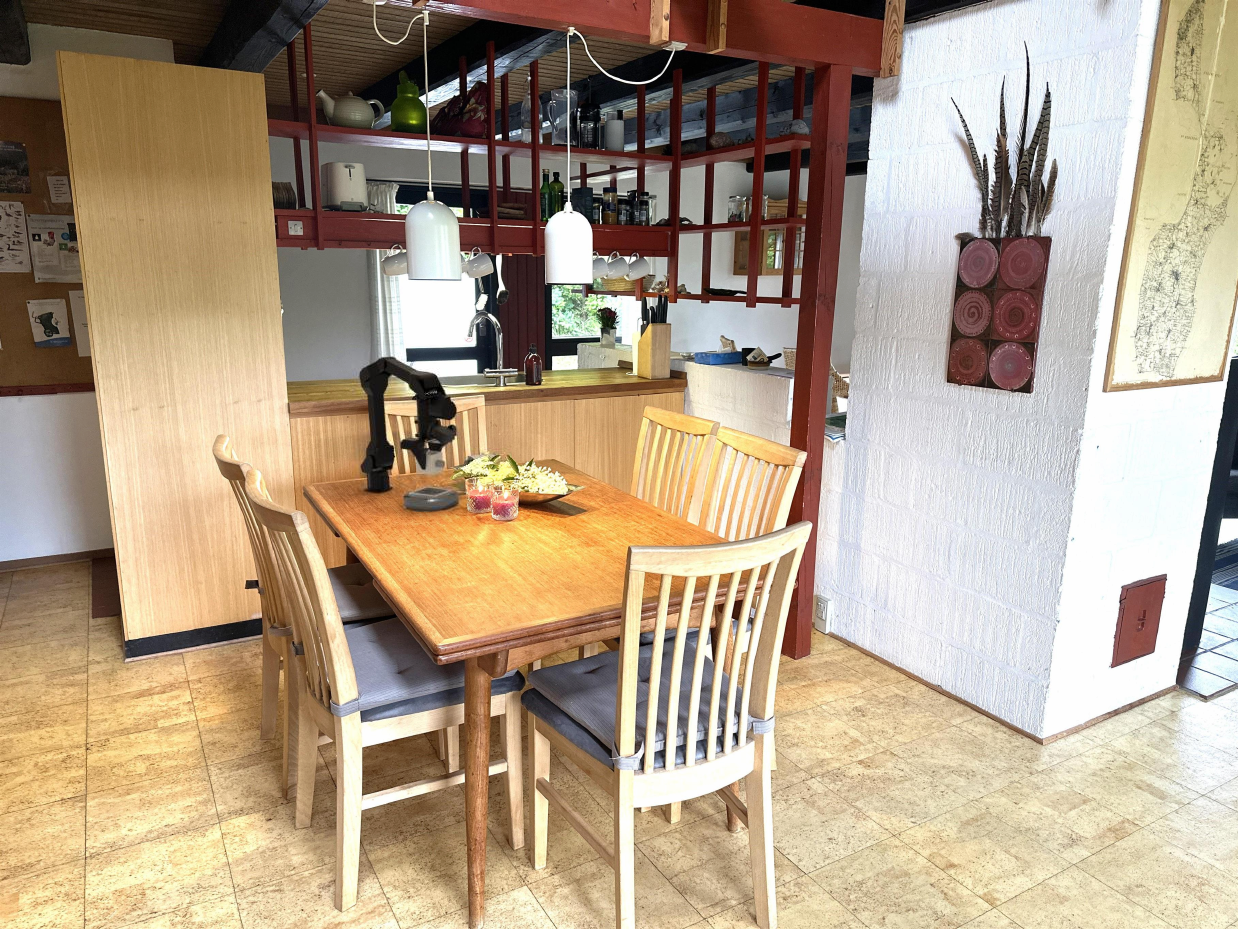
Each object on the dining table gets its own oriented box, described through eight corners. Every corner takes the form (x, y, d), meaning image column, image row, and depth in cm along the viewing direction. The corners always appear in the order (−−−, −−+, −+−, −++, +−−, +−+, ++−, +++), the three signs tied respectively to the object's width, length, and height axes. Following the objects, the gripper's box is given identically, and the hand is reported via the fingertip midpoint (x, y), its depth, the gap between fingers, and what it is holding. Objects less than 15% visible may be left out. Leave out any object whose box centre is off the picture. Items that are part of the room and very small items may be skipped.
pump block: (416, 472, 253) (415, 453, 252) (427, 469, 257) (426, 450, 256) (438, 475, 250) (437, 455, 248) (448, 472, 254) (447, 452, 253)
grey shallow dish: (392, 507, 253) (392, 494, 252) (427, 494, 267) (426, 482, 266) (436, 514, 246) (435, 500, 245) (469, 501, 260) (468, 488, 259)
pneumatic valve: (464, 489, 273) (463, 453, 271) (498, 485, 279) (497, 449, 276) (469, 493, 269) (468, 456, 266) (504, 489, 274) (503, 452, 271)
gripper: (428, 423, 238) (431, 477, 242) (468, 413, 255) (470, 464, 258) (397, 420, 243) (400, 473, 247) (438, 410, 260) (440, 460, 263)
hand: (429, 467), depth 254 cm, fingers closed on pump block, 5 cm apart
